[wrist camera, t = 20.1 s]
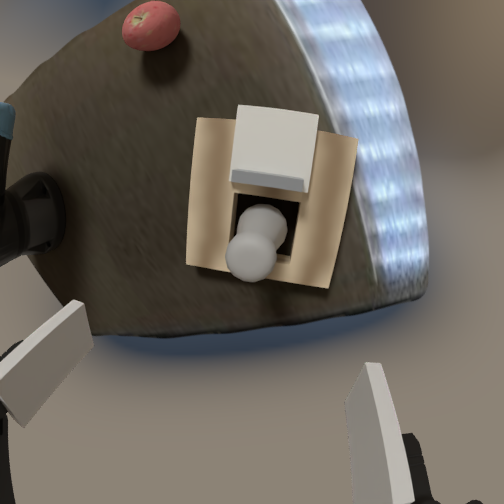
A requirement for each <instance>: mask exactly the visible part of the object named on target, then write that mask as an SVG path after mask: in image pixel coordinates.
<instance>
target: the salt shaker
mask: <svg viewBox="0 0 504 504" xmlns="http://www.w3.org/2000/svg"><path fill="white" fill-rule="evenodd" d="M287 231H288V230H287V223H286V219H285V218H284V216H283V215H282V213H281V212H280V211H279V210H278V209H276V208H275V207H273V206H271V205H268V204H257V205H254V206H252V207H249V208H247V209H246V210H245V211H244V213H243V214H242V215H241V216H240V219H239V223H238V226H237V235H236V236H235V237H234V238H233V239H232V240H231V241H230V243H229V244H228V246H227V250H226V254H225V260H226V264H227V268H228V269H229V270H230V272H231V273H232V274H233V275H234V276H235V277H237V278H239V279H241V280H242V281H247V282H256V281H259V280H262V279H264V278H266V277H267V276H268V275H269V274H270V273H271V272H272V271H273V269H274V266H275V263H276V259H277V255H276V250H277V249H278V248H279V247H280V246H281V244H282V243H283V242H284V241H285V237H286V234H287Z"/></svg>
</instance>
